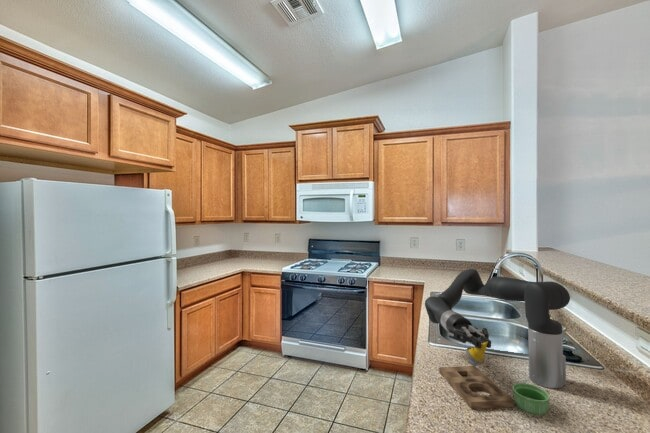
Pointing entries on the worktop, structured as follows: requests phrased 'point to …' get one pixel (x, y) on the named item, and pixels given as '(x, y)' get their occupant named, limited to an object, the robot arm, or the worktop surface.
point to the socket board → (475, 387)
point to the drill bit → (476, 354)
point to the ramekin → (531, 398)
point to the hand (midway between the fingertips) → (484, 344)
